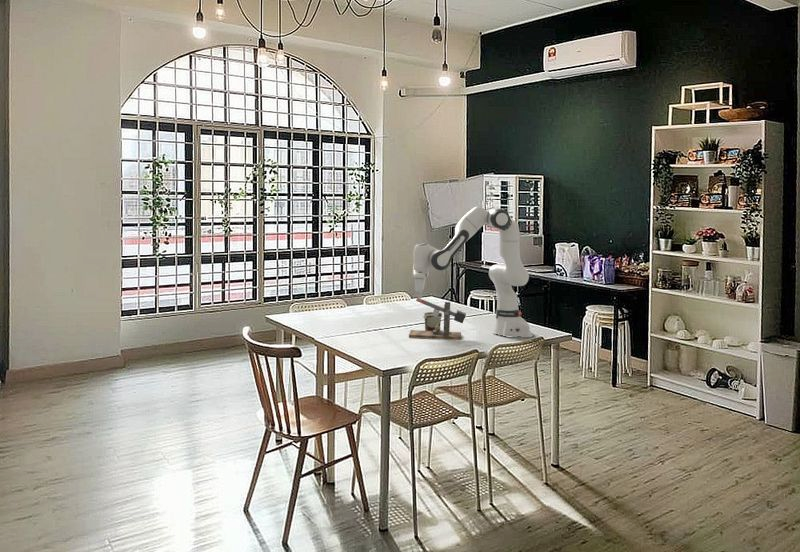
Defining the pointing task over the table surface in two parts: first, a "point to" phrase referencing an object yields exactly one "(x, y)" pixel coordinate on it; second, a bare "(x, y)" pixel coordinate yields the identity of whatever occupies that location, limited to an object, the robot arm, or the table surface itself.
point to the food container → (431, 321)
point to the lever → (458, 315)
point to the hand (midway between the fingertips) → (419, 298)
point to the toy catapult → (438, 329)
